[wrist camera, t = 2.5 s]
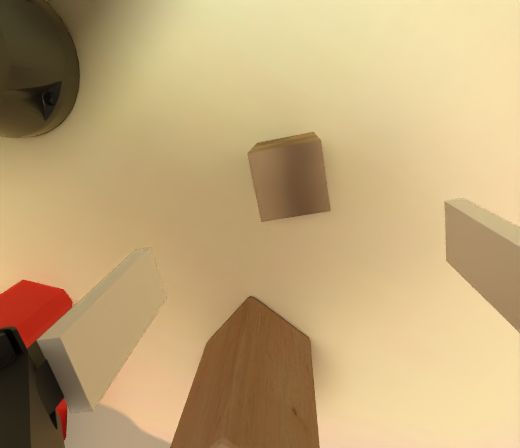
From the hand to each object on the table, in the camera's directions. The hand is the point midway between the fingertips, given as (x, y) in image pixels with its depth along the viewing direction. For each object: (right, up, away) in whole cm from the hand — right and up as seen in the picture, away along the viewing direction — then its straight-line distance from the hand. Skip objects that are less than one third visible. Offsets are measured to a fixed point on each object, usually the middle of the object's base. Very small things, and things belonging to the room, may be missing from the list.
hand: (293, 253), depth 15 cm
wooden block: (-2, -14, +30) cm, 33 cm away
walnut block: (+2, +8, +22) cm, 23 cm away
